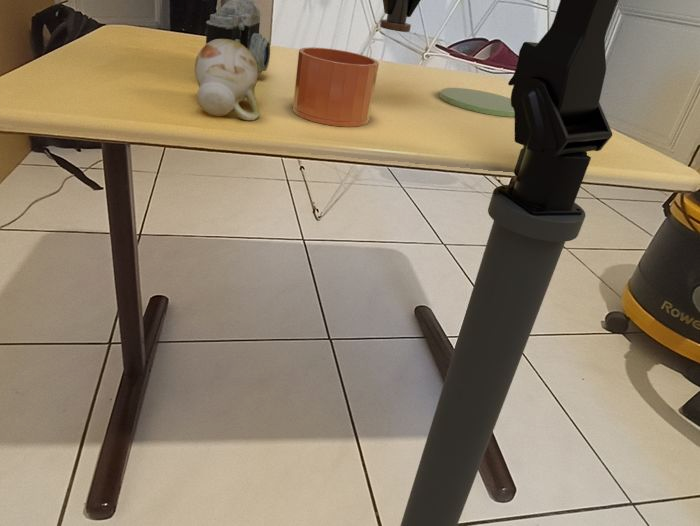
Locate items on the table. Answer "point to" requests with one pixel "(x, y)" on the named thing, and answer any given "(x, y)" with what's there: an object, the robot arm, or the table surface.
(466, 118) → the table surface
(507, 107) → the plate
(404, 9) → the grey flanged cylinder
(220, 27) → the camera
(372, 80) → the cup
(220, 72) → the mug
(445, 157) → the table surface
